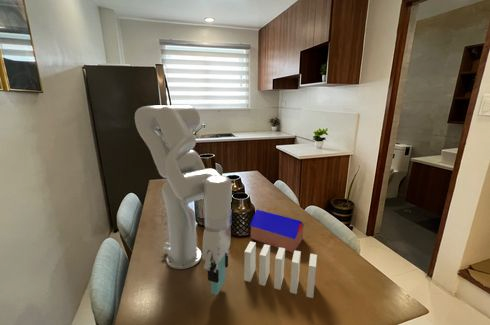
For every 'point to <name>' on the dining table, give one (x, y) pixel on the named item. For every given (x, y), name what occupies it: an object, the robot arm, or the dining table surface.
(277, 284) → the domino
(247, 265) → the domino
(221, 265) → the domino
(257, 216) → the house
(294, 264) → the domino
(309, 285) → the domino
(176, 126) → the robot arm
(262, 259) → the domino
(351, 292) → the dining table surface
